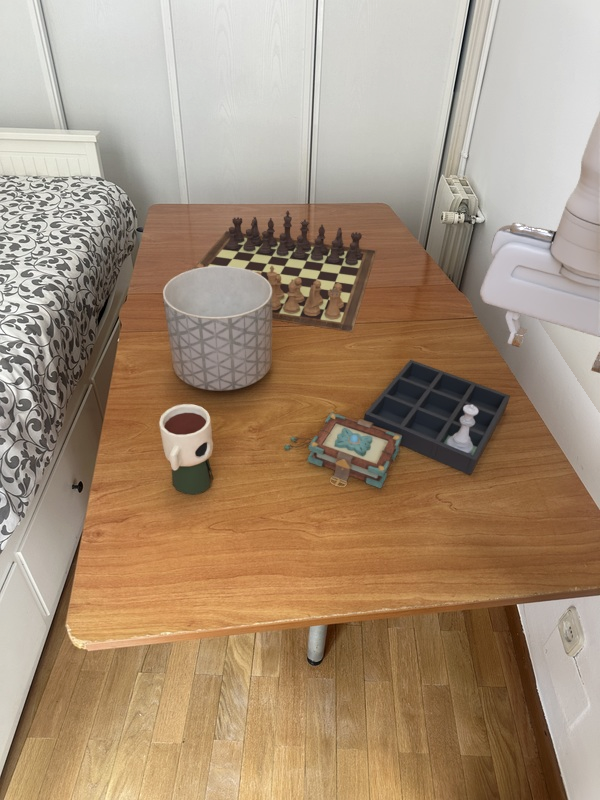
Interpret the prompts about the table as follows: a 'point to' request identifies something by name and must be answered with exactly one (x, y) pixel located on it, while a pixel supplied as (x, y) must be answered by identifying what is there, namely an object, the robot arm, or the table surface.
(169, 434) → the character mug
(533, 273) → the robot arm
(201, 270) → the planter
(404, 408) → the grid
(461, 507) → the table surface
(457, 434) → the chess piece
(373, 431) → the decorative book
